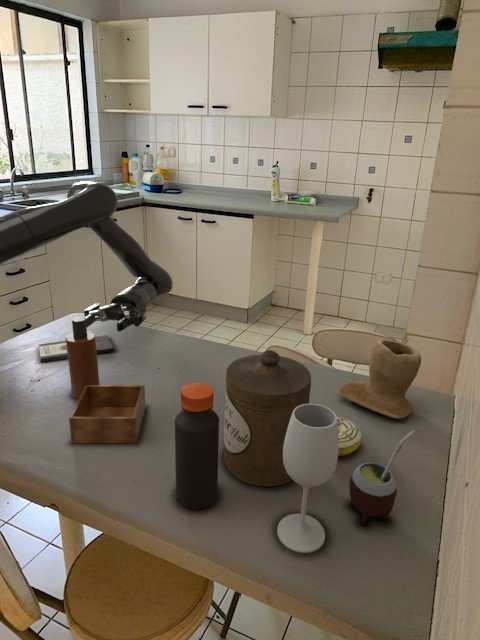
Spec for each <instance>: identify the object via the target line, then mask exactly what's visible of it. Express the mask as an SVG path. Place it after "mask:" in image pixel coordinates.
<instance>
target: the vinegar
mask: <svg viewBox="0 0 480 640" xmlns="http://www.w3.org/2000/svg"><path fill="white" fill-rule="evenodd" d="M214 393H215V391H214V388H213V387H212V386H211V385H209V384H207V383H204V382H190V383H187V384H185V385H184V386H183V387H181V389H180V407H181V409H180V411H179V412H178V413H177V414H176V416H175V419H174V448H175V449H174V451H175V452H174V455H175V458H174V461H175V496H176V500H177V502H178V503H179V504H180V505H181V506H182V507H184V508H186V509H189V510H202V509H203V510H204V509H206V508H208V507H210V506H212V505H213V503H215V501H216V499H217V497H218V484H219V483H218V481H219V480H218V479H219V446H220V445H219V444H220V443H219V442H220V439H219V438H220V437H219V436H220V418H219V416H218V413H217V412H216V411H214V409H213V407H214V400H215V399H214V398H215V397H214Z"/></svg>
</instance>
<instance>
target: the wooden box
mask: <svg viewBox="0 0 480 640" xmlns="http://www.w3.org/2000/svg"><path fill="white" fill-rule="evenodd" d="M145 387H146V386H145V385H144V384H141V385H140V384H125V385H124V384H99V385H85V387H84V389H83V391H82V393H81V395H80V397H79V399H77V401H76V403H75V405H74V407H73V409H72V412H70V413H71V414H70V415H69V418H68V421H69V423H68V424H69V431H70V437H71V439H70V440H71V444H138V440H139V435H140V431H141V427H142V424H143V419H144V415H145V411H146V395H145V394H146V392H145Z"/></svg>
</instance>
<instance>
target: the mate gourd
mask: <svg viewBox="0 0 480 640" xmlns="http://www.w3.org/2000/svg"><path fill="white" fill-rule="evenodd" d="M416 432H417V431H416V430H415V429H412V430H411V431H410V432H408V434H407V435H405V436H404V437H403V438H402V439H401V440H400V441H399V442H398V443H397V444H396V445H395V447H394V451H393V453H392V455H391V456H390V459H389V461H388V463H387V465H386V466H384V465H382V464H380V463H377V462H363V463H362V464H360V465H359V466H357V467H356V468H355V469H354V471H353V473H352V476H350V479H349V483H348V484H349V485H348V487H349V496H350V501H349V503H348V507H349V508H351V509H354V510H356V511H357V512H360V513H361V514H362V515H361V516H362V517H361V520H360V521H359V525H360V526H362V527H365V526H366V525H367V523H368V520H369V518H370V517H371V518H374V519H376V520H379V521H381V522H383V523H386V524H387V523H388V522H389V517H388V516H389V515H390V514H391V512H392V510H393V508H394V505H395V500H396V498H397V490H398V489H397V482H396V477H395V476H394V475H393V473H392V472H391V470H390V469H391V468H392V467H393V463H394V462H395V459H396V458H397V456H398V454H399V453H400V452H401V450H402V449H403V445H404V444H405V443H406V442H407V441H408V440H409V439H410V438H411V437H412V436H413V435H414V434H416Z"/></svg>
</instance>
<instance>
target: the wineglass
mask: <svg viewBox="0 0 480 640" xmlns="http://www.w3.org/2000/svg"><path fill="white" fill-rule="evenodd" d="M336 416H337V414H336V413H335V412H334V411H333V410H332V409H331V408H329V407H327V406H325V405H322V404H317V403H309V404H303V405H300V406H298V407H296V408H295V409H294V410H293V413H292V416H291V419H290V422H289V425H288V429H287V432H286V436H285V441H284V446H283V464H284V467H285V469H286V471H287V473H288V475H289V476H290V477H291V478H292V479H293V480H292V481H293V482H295V483H296V484H298V485H300V486H302V500H301V507H300V513H291V514H288V515H286V516H284V517H283V518H282V519H280V521H279V522H278V525H277V527H276V528H277V529H276V532H277V536H278V539H279V541H280V542H281V544H282V545H284V546H285V547H286V548H287V549H289V550H291V551H293V552H296V553H301V554H307V553H308V554H311V553H313V552H316V551H318V550H319V549H320V548H321V547H322V546H323V545H324V543H325V538H326V533H325V529H324V527H323V525H322V524H321V523H320V521H318V520H317V519H316V518H314V517H312V516H311V515H307V507H308V497H309V496H308V495H309V491H310V488H315V487H319V486H321V485H323V484H324V483H326V482H327V481H329V480H330V479H331V478H332V476H333V475H334V473H335V472H336V468H337V465H338V461H339V459H338V458H339V456H338V424H337V417H338V416H337V417H336Z"/></svg>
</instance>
